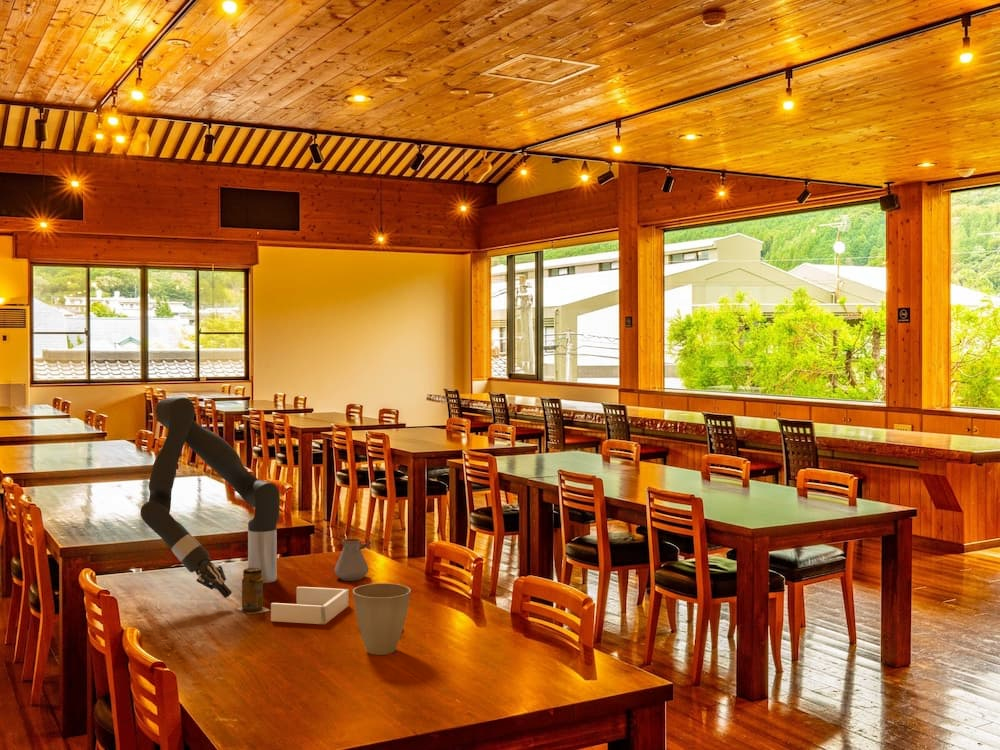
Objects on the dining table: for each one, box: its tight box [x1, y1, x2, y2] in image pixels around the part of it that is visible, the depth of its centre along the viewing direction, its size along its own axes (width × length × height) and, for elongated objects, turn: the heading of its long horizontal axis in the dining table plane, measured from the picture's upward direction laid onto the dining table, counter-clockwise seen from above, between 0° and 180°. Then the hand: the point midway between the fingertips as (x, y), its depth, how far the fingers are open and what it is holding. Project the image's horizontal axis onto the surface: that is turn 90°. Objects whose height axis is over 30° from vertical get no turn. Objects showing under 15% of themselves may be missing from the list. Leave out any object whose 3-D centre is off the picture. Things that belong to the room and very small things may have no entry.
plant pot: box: [352, 582, 411, 656], centre depth 260 cm, size 15×15×16 cm
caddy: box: [270, 586, 350, 625], centre depth 295 cm, size 20×16×5 cm
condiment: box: [235, 567, 271, 615], centre depth 298 cm, size 7×8×12 cm
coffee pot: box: [334, 538, 374, 582], centre depth 334 cm, size 21×12×15 cm, turn 31°
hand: (228, 595), depth 299 cm, fingers closed
